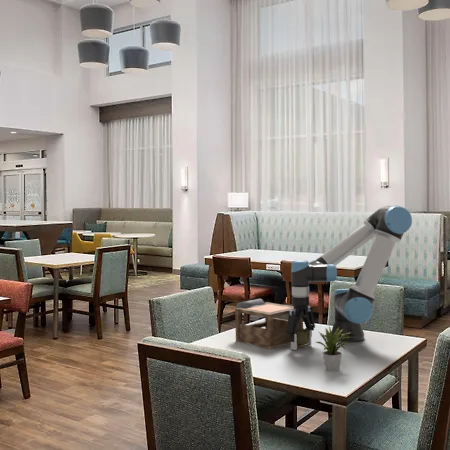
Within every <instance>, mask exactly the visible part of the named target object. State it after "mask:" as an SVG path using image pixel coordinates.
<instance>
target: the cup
mask: <svg viewBox="0 0 450 450" xmlns="http://www.w3.org/2000/svg"><path fill="white" fill-rule="evenodd" d="M295 334H296V335H297V349H298V348H299V349H305V348H306V346H307V345H306V344H307V343H308V341H309V334H310V330H309V329H307V328H306V327H305V328H304V327H303V328H302V329H301V328H297V330H296V333H295Z"/></svg>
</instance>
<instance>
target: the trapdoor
mask: <svg viewBox="0 0 450 450" xmlns="http://www.w3.org/2000/svg"><path fill="white" fill-rule="evenodd" d="M264 303H265V302H264V300H263V299H262V298H256V299H251V300H246V301H245V300H244V301H239V302H237V304H236V306H235V309H236V308H244V309H250V310H256V311H262V312H268V313H272V312H276V311H281V310H285V309H290V307H284V306H277V305H271V304H264ZM241 314H243V313H242V312H241Z"/></svg>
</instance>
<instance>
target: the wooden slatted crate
mask: <svg viewBox="0 0 450 450" xmlns="http://www.w3.org/2000/svg"><path fill="white" fill-rule="evenodd" d="M264 304H271V305H277V306H284V307H290V309H285V310H281V311H276V312H272V313H268V312H262V311H256V310H250V309H244V308H236V307H235V309H234V316H235V317H234V318H235V319H234V320H235V325H234V327H235V341H236V342H239V343H243V344H247V345H252V346H256V347H260V348H264V349H269V350H273V349H276V348H277V349H278V348H279V347H283V346H286V345H291V342H290V334H288V333H286V331H287V324H288V320H283V319H278V318H273V317H275V316H280V315H284V314H288V311H289V310H293V308H294V306H287V305H288V304H280V303H274V302H269V301H268V302H264ZM241 312H242V313H241ZM242 314H247V315H254V316H259V317H264V321H259V322H256V323H250V324H244V323H242ZM297 328H301V329H302V328H304V321H303V318H301V319H300V320H299V323H298V326H297ZM296 330H297V329H296Z"/></svg>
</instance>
